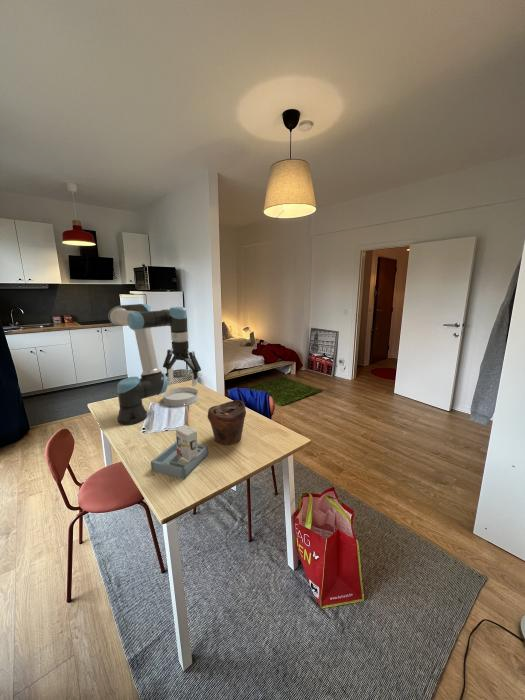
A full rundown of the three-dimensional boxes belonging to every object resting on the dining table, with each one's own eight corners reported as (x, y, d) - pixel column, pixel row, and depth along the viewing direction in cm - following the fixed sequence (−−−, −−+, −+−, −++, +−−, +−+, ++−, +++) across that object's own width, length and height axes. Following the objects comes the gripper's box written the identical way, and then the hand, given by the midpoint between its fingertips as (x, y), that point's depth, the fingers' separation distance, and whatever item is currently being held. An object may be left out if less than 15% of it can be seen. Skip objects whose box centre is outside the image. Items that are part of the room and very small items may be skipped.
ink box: (176, 454, 122) (174, 428, 120) (186, 449, 126) (184, 424, 123) (188, 462, 117) (186, 435, 114) (199, 456, 120) (197, 430, 118)
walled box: (151, 470, 118) (150, 461, 117) (178, 447, 134) (177, 439, 133) (184, 479, 112) (183, 470, 112) (208, 454, 129) (207, 446, 128)
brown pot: (200, 445, 136) (198, 410, 132) (221, 426, 154) (220, 394, 150) (234, 453, 130) (233, 416, 126) (251, 432, 148) (252, 400, 144)
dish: (205, 396, 195) (204, 390, 194) (184, 409, 175) (183, 402, 174) (179, 392, 204) (178, 385, 203) (156, 404, 184) (155, 396, 183)
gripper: (153, 339, 135) (156, 382, 140) (198, 344, 127) (200, 389, 132) (163, 337, 142) (167, 377, 147) (207, 341, 133) (209, 384, 138)
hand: (182, 383), depth 139 cm, fingers open, 13 cm apart
